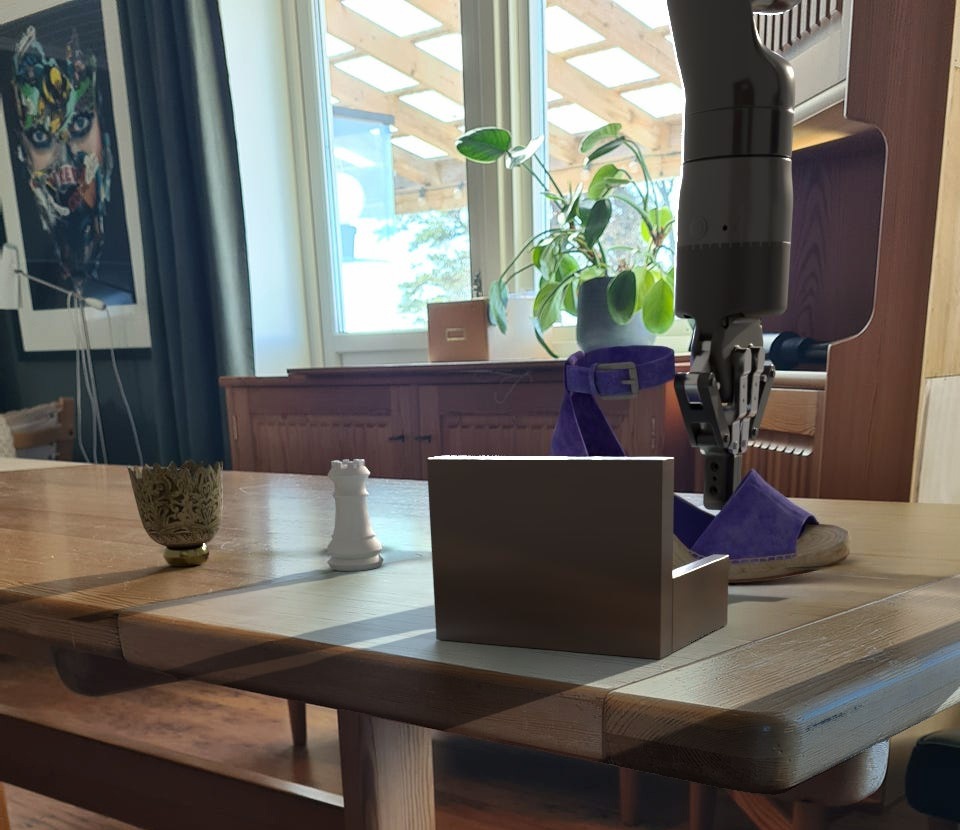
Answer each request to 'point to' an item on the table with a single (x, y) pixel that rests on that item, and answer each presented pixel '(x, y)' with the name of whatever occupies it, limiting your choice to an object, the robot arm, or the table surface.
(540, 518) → the brown stepped block
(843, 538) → the sandal
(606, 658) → the table surface
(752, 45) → the robot arm
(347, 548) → the rook chess piece
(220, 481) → the cup
